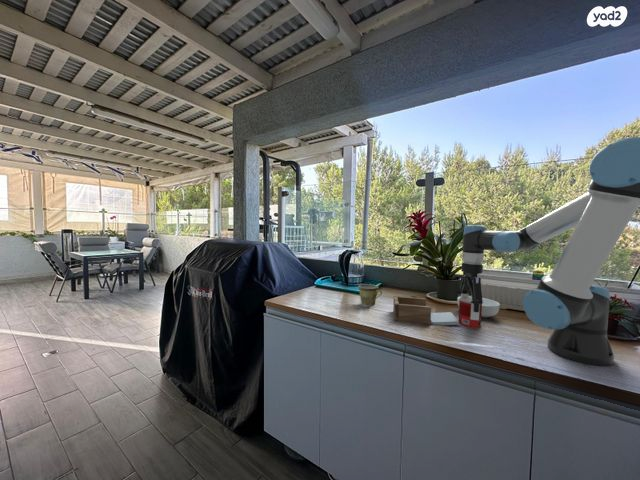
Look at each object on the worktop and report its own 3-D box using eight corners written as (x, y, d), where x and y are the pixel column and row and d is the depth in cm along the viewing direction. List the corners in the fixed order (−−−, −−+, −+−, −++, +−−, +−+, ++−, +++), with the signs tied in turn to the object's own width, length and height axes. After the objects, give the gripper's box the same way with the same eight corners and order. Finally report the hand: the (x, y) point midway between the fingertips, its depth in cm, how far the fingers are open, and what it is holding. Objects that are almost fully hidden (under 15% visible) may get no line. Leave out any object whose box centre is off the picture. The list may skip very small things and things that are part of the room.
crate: (433, 327, 105) (433, 307, 105) (394, 323, 108) (395, 304, 108) (427, 315, 119) (428, 298, 118) (393, 312, 122) (393, 295, 122)
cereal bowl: (482, 324, 109) (483, 307, 109) (448, 312, 125) (449, 297, 124) (507, 318, 116) (508, 303, 116) (472, 308, 132) (473, 294, 131)
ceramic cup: (354, 304, 133) (354, 285, 133) (366, 301, 140) (366, 283, 140) (375, 311, 124) (375, 290, 123) (386, 307, 130) (387, 287, 130)
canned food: (484, 330, 102) (485, 303, 102) (462, 328, 104) (463, 301, 103) (476, 323, 110) (477, 297, 109) (456, 321, 111) (457, 296, 111)
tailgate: (459, 324, 104) (458, 321, 104) (432, 325, 106) (432, 322, 106) (451, 315, 115) (451, 312, 115) (427, 316, 117) (427, 313, 117)
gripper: (453, 258, 118) (451, 303, 120) (472, 267, 94) (468, 324, 96) (472, 259, 117) (469, 305, 118) (495, 268, 93) (491, 326, 94)
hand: (468, 313), depth 107 cm, fingers open, 13 cm apart
